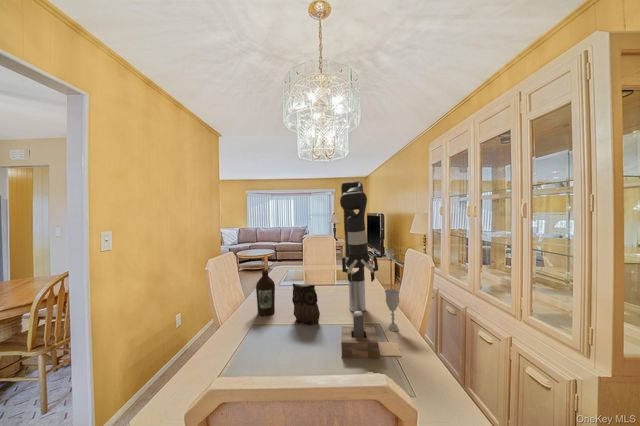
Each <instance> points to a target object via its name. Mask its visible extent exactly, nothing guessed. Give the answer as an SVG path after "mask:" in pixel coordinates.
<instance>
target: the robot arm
mask: <svg viewBox="0 0 640 426" xmlns="http://www.w3.org/2000/svg"><path fill="white" fill-rule="evenodd" d="M340 190H341V195H340V199H339V204H340V207H341V208H342V210H343V230H344V231H343V232H344V241H345V242H344V243H345V252H344V253H345V255H344V256H342V258H341V268H342V270H341V271H342V272H343V273H346V274H347V280H348V299H349V300H348V301H349V303H348V305H349V306H348V307H349V310H350V311H351V312H353V313H354V312H355V311H361V312H362V313H363V312H365V311H366V278H365V277H366V276H365V267H366V268H367V270H369V271H370V281H371V282H374V281H375V279H376V278H375V272H379V263H378V257H377V255H376V254H373V255H370V254H369V249H368V236H367V231H366V221H365V220H366V219H365V217H366V216H365V214H366V209H367V203H368V197H367V194H366V193H365V192H364V185H363V183H362V182H361V181H357V180H356V181H344V182H342V183H341V189H340ZM357 210H358V212H357V213H356V212H355V211H357ZM370 260H371V261H372V262H373V263H374V265H373V266H374V267H373V266H372V265H371V264H370V263H369V261H370ZM353 269H358V270H357V271H354V272H352V271H353Z"/></svg>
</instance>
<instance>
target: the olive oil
mask: <svg viewBox="0 0 640 426" xmlns="http://www.w3.org/2000/svg"><path fill="white" fill-rule="evenodd" d="M261 271H262V272H261V275H262V276H261V277H260V278H259V279H258V281H257V282H256V284H255V293H256V304H257V305H256V306H257V307H256V308H257V315H258V316H260V317H268V316H272V315H274V314H275V312H276V311H275V298H276V297H275V296H276V285H275V284H276V283H275V282H274V280H273V279H272V278H271V276H269V270H268V268H263V269H262V270H261Z"/></svg>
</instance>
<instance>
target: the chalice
mask: <svg viewBox="0 0 640 426" xmlns="http://www.w3.org/2000/svg"><path fill="white" fill-rule="evenodd" d="M384 293H385V303H386V305H387V307H388V309H389V311H391V313H390V315H391V318H390V320H391V322H390V323H389V324H388V327H387V330H388V331H390V332H397V331H399V326H398V324H397V323H396V322H395V311H397V309H398V306H399V305H400V304H399V303H400V290H399V289H394V288H389V289H388V288H387V289H385V290H384Z"/></svg>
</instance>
